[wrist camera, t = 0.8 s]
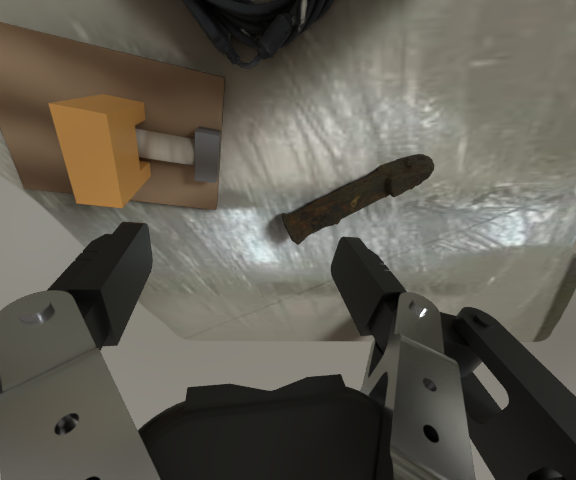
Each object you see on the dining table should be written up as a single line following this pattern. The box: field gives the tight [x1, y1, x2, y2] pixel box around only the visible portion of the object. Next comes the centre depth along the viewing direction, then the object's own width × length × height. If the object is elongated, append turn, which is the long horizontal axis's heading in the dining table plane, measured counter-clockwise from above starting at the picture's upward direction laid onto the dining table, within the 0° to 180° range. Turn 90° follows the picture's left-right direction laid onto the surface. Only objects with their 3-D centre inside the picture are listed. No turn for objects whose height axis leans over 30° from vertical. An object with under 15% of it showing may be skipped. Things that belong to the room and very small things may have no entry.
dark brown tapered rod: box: [282, 154, 434, 245], centre depth 30 cm, size 19×4×5 cm, turn 114°
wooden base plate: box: [0, 22, 225, 210], centre depth 22 cm, size 13×18×4 cm
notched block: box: [48, 94, 151, 208], centre depth 19 cm, size 7×3×7 cm, turn 168°
